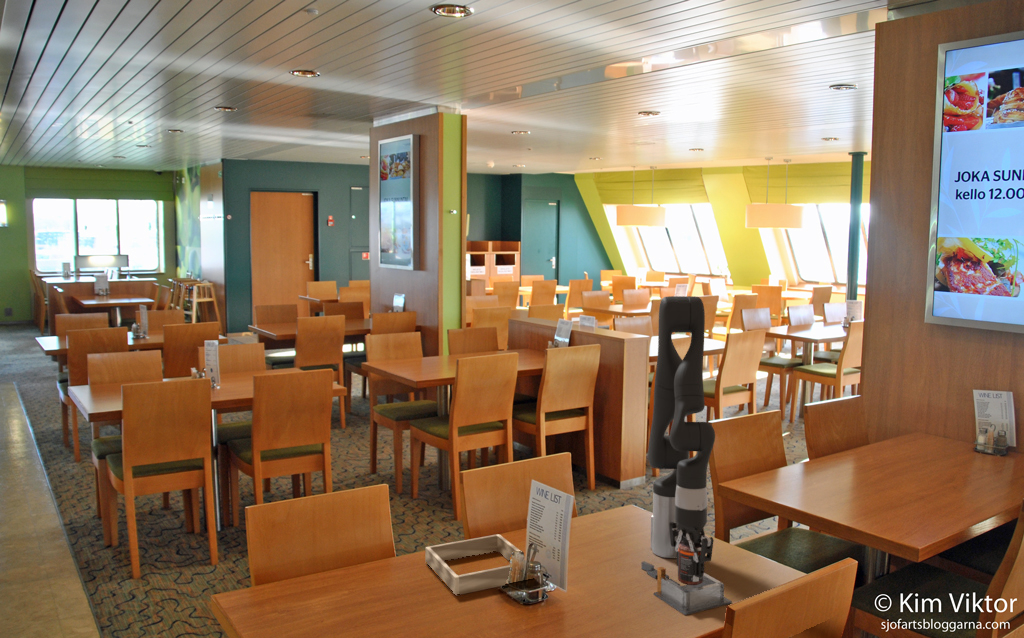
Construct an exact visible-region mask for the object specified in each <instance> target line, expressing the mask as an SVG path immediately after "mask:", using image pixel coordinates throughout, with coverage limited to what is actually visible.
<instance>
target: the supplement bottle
mask: <svg viewBox="0 0 1024 638" xmlns="http://www.w3.org/2000/svg"><path fill="white" fill-rule="evenodd" d="M682 540H683V542H682V543H680V544H679V547H678V566H677V579H678V581H679V582H680V583H681V584H684V585H699V584H701V583H702V581H703V576H701V577H696V576H695V575H694V564H695V558H694V554H693V553H692V552H691V549H690V546H689V542H688V540H687V537H686V536H683V539H682ZM695 548H700V545H698V546H695ZM700 554H701V552H700V551H698V555H699V556H700Z"/></svg>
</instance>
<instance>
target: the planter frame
mask: <svg viewBox="0 0 1024 638" xmlns="http://www.w3.org/2000/svg"><path fill="white" fill-rule="evenodd" d="M424 547H425V549H424V550H425V551H424V553H425V555H424V556H425V563H426V562H427V564H428V565H429V566H430V567H431V568H432V569H433V570H434V571H435V572H436V573H437V574H438V576H439V577H440V578H441V579H442V580H443V581H444V582H445V583H446V584H447V586H448V587H449V588H450V589H451V590H452V591H453V592H452V591H451V590H450V589H449V588H448V587H447V586H446V587H447V588H448V589H449V590H450V591H451V592H452V593H453V595H454V594H455V595H456V596H458V595H457V594H460V595H464V594H470V593H474V592H478V591H484V590H489V589H493V588H499V587H501V586H502V587H503V586H506V585H505V584H506V580H507V579H508V576H509V571H510V565H511V564H509V565H504V566H499V567H494V568H489V569H484V570H479V571H473V572H469V573H463V574H459V575H458V574H456V572H455V571H454V570H453V569H452V568H451V567H449V565H448V564H447V563H446V561H445V560H448V561H452V560H451V559H454V560H458V558H459V559H463V558H462V557H464V558H467V557H466V556H470V557H473V556H472V555H475V556H480V555H485V554H484V553H486V554H490V552H491V553H494V552H493V551H496V552H498V553H499V552H500V553H501V554H502V555H503V556H502V555H501V554H500V553H499V554H500V555H501V556H502V557H503V558H504V559H506V560H507V561H509V560H510V557H511V555H512V552H513V551H521V550H520V549H519V548H518V547H516V546H515V545H514V544H513V543H512V542H510V541H509V540H507V539H506V538H505V537H503V536H502V535H501V534H498V533H497V534H492V535H486V536H481V537H475V538H470V539H465V540H459V541H458V540H457V541H452V542H447V543H440V544H436V545H430V546H424ZM479 554H480V555H479ZM509 562H510V561H509ZM427 564H426V565H427ZM428 565H427V566H428ZM429 566H428V567H429ZM430 567H429V568H430ZM438 576H437V577H438ZM439 577H438V578H439ZM440 578H439V579H440ZM441 579H440V580H441ZM442 580H441V581H442ZM455 595H454V596H455Z"/></svg>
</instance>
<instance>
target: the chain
mask: <svg viewBox="0 0 1024 638" xmlns="http://www.w3.org/2000/svg"><path fill="white" fill-rule="evenodd" d="M641 569H642V570H643V571H645V572H647V575H648V576H650V577H652V578H653V579H655V580H657V570H658V569H655V565H654V564H652V563H650V562H647V561H645V560H644V561H641ZM666 578H668V579H670V580H671V581H673V582H674V583H676V584H678V585H679V586H681V584H680V583H679V582H677V581H675V580H674V579H672V578H670V576H669V575H668V574H666Z"/></svg>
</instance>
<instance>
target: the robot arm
mask: <svg viewBox="0 0 1024 638" xmlns="http://www.w3.org/2000/svg"><path fill="white" fill-rule="evenodd" d="M705 315H706V313H705V306H704V302H703V300H702V298H701V297H698V296H691V295H690V296H688V295H687V296H683V295H682V296H679V295H678V296H677V295H676V296H674V295H673V296H670V295H669V296H664V297H663V298H661V300H660V303H659V308H658V332H657V333H658V335H657V336H658V343H657V344H658V345H657V357H656V358H657V359H656V368H655V376H654V389H653V411H652V420H651V421H652V422H651V427H650V428H651V429H650V433H649V441H648V449H647V459H648V462H649V463H648V464H649V466H651V468H653V469H656V470H672V471H671V472H670V473H669V474H666V475H665V476H663V477H659V478H657V479H656V480H655V481H653V484H652V487H653V488H652V515H651V516H650V549H651V550H652V553H653V554H654V555H656V556H658V557H661V558H666V559H676V566H677V567H678V547H679V544H680V543H682V542H683V540H682V539H683V536H686V537H687V540H688V542H689V546H690V549H691V552H692V553H693V554H694V558H695V564H694V575H695V576H696V577H701V576H703V575H704V573H705V563H706V562H710V561H711V560H712V555H713V549H714V541H715V540H714V537H711V536H710V537H709V536H707V535H706V534H705V529H704V528H705V527H706V524H707V522H708V490H707V481H708V480H707V477H708V476H707V472H708V471H707V470H708V467H709V466H708V464H709V462H710V461H709V460H710V457H711V454H712V451H713V448H714V446H715V441H716V433H715V429H714V427H713V425H712V424H711V423H709V422H706V421H685V420H686V419H685V418H686V417H687V416H690V415H694V414H699V413H702V412H703V411H704V410H705V389H704V380H703V379H704V378H703V377H704V376H703V373H704V372H703V370H704V369H703V368H704V365H703V364H704V349H705V329H706V328H705V326H706V325H705V324H706V323H705V321H706V316H705ZM674 333H689V334H691V335H690V337H691V338H690V344H689V347H688V349H687V351H686V353H685V355H684V357H683V359H682V358H681V356H680V355H679V353H678V351H677V350H676V347H675V344H674V342H673V340H672V335H673V334H674ZM671 422H672V423H671ZM670 424H671V427H670V428H671V429H670V433H669V435H665V434H666V432H667V429H668V427H669V425H670ZM690 452H696V454H695V455H694V456H693V457H690ZM698 545H700V548H695V546H698ZM698 551H700V552H701V554H700V556H699V555H698Z"/></svg>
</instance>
